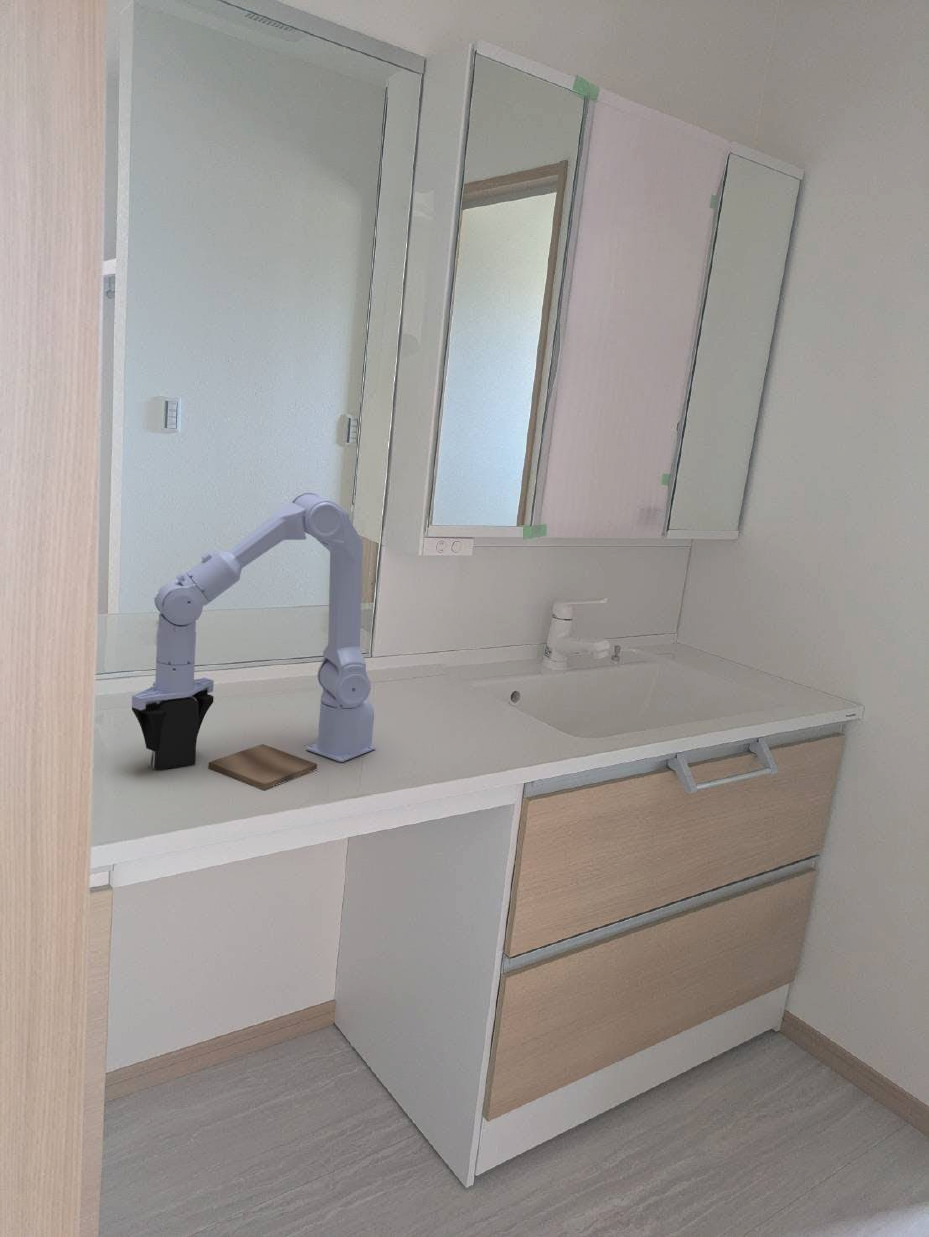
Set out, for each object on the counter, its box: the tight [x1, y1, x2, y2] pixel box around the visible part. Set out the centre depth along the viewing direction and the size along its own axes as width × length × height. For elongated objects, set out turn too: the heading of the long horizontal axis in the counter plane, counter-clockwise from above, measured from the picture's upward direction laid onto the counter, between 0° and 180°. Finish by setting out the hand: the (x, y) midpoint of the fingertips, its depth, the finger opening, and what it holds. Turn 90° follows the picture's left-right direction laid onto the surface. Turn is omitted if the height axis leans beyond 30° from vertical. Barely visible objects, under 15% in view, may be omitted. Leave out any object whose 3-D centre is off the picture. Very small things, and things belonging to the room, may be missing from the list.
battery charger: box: [150, 696, 199, 770], centre depth 155 cm, size 7×4×11 cm, turn 127°
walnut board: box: [208, 744, 318, 790], centre depth 158 cm, size 12×12×1 cm
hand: (171, 743), depth 156 cm, fingers open, 7 cm apart
